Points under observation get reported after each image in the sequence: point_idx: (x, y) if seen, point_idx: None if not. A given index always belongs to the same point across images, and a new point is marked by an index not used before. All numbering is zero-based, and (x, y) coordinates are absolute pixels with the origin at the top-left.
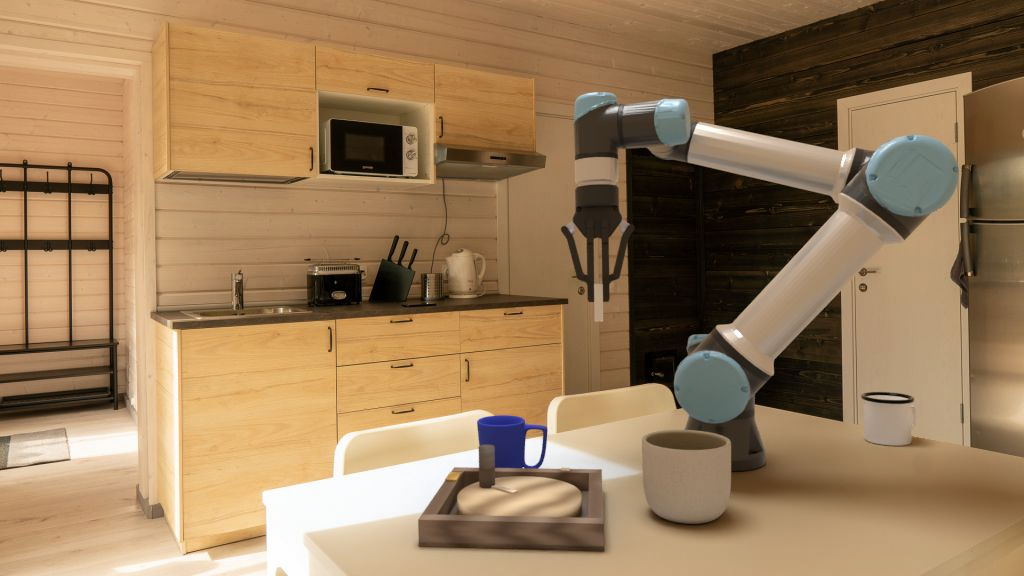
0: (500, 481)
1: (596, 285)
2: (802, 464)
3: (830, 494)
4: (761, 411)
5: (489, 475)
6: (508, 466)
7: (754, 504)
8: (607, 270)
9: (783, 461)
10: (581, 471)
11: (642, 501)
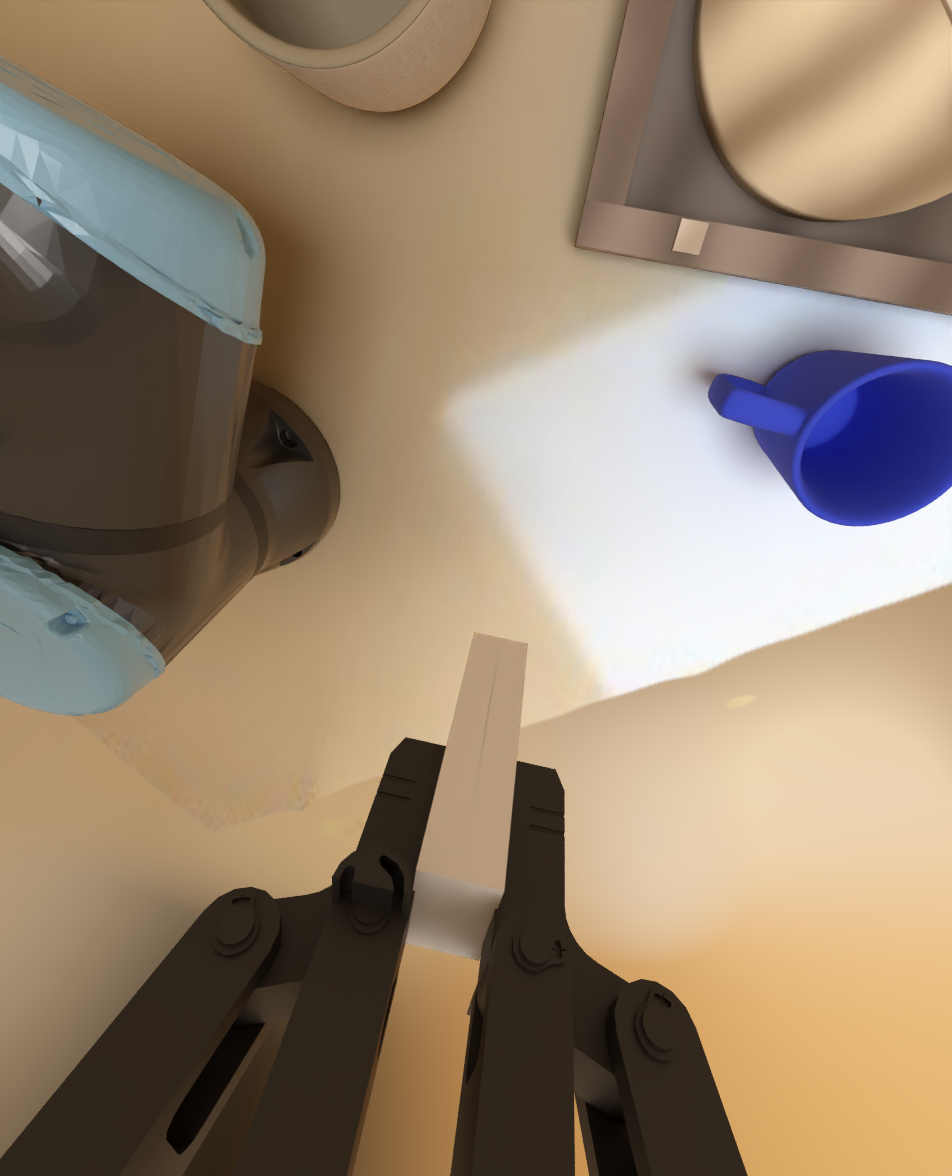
0: (930, 154)
1: (481, 870)
2: None
3: None
4: (157, 765)
5: None
6: (826, 354)
7: (204, 70)
8: (306, 1040)
9: None
10: (642, 224)
11: (488, 129)
